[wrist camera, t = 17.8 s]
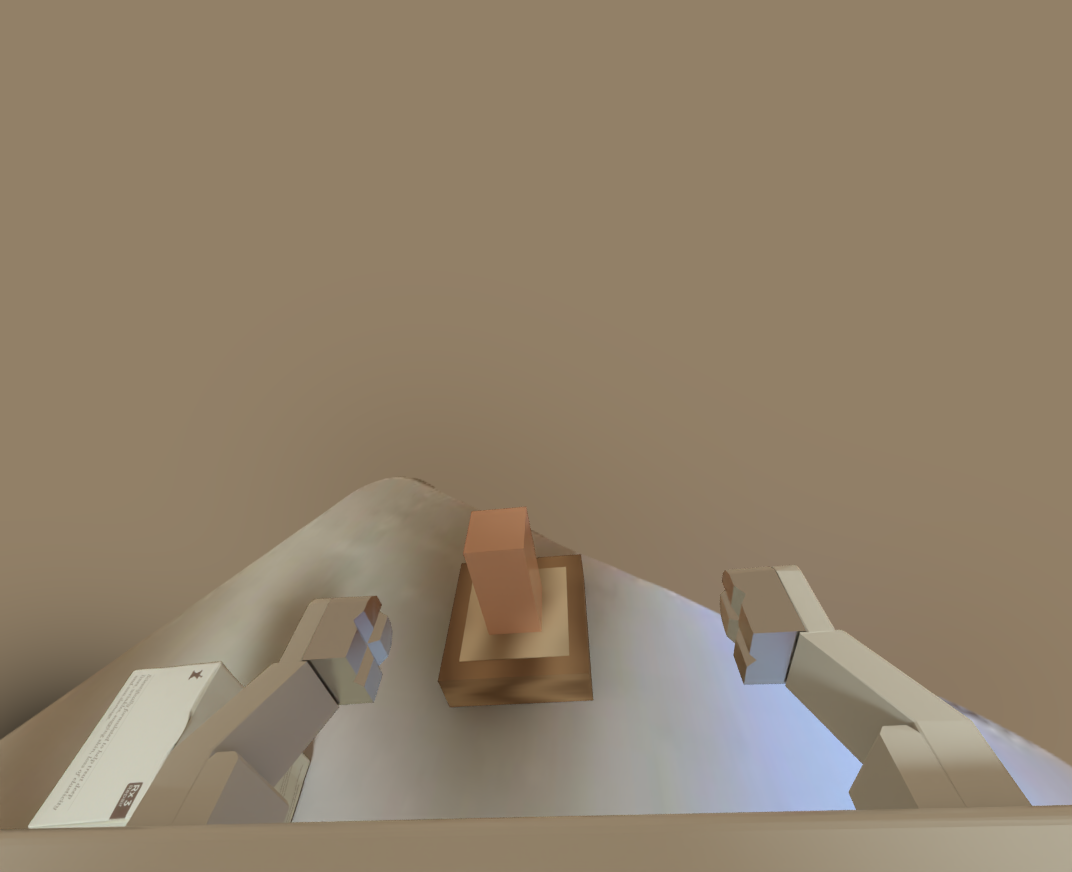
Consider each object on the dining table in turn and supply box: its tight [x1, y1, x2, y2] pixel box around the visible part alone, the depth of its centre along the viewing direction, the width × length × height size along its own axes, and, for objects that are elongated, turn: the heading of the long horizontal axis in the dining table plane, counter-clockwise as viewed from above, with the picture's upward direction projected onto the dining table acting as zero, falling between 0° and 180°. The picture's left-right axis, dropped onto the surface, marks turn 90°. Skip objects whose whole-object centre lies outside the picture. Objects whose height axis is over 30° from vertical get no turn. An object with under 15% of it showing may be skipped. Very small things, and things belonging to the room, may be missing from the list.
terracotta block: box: [463, 507, 542, 635], centre depth 39 cm, size 4×4×10 cm
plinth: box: [438, 554, 593, 707], centre depth 43 cm, size 12×12×4 cm
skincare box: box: [28, 661, 310, 829], centre depth 30 cm, size 8×6×15 cm
